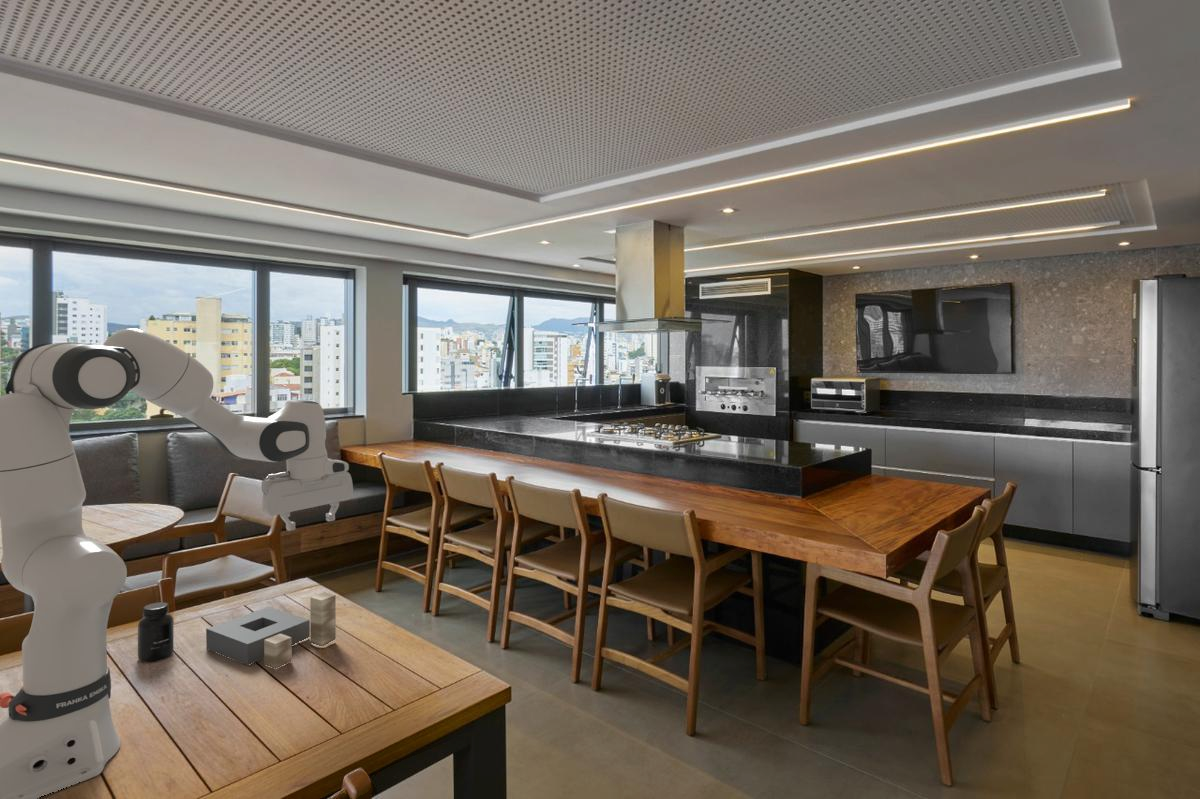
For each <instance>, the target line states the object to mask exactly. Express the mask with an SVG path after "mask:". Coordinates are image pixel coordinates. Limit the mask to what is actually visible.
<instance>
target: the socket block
mask: <svg viewBox="0 0 1200 799" xmlns="http://www.w3.org/2000/svg"><path fill="white" fill-rule="evenodd" d="M205 629H206V632H205V633H206V634H205V637H206V641H205V642H206V643H205V644H206V650H208V649H209V650H208V651H210V650H212V651H211V652H213V651H215V652H217V653H216V654H218V653H219V654H218V655H220V654H221V655H220V656H222V655H224V656H223V657H225V656H226V658H227V657H229V658H228V659H230V658H231V659H230V660H232V659H234V660H233V661H235V660H236V661H235V662H237V661H238V663H240V662H242V663H244V664H243V665H245V664H247V665H248V666H250V665H249V664H251V663H253V662H255V663H257V662H256V661H258V660H260V661H262V660H264V659H263V658H264V640H265V639H268V638H270V637H273V636H275V635H278V634H283V635H286V636H289V637H292V645H294V644H295V643H297V642H299V641H302V640H304V639H306V638H308V637H310V638H311V619H308V618H305V617H303V616H299V615H295V614H292V613H289V612H286V611H285V610H284V611H283V610H280V609H278V608H274V607H271V606H267V607H264V608H261V609H259V610H255V611H253V612H250V613H247V614H245V615H242V616H241V615H240V616H238V617H236V618H233V619H230V620H227V621H223V622H222V623H221V622H220V623H218V624H216V625H212V626H210V627H207V628H205ZM215 652H214V653H215ZM261 659H262V660H261ZM258 662H259V661H258ZM242 663H241V664H242ZM253 664H254V663H253ZM247 665H246V666H247ZM251 665H252V664H251Z"/></svg>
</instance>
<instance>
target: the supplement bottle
mask: <svg viewBox="0 0 1200 799" xmlns="http://www.w3.org/2000/svg"><path fill="white" fill-rule="evenodd" d="M174 623H175V622H174V617H173V615H172V614H170V613H169V603H168V602H165V601H164V602H163V601H161V602H160V601H159V602H153V603H148V604H146V605H145V606H143V609H142V618H141V619H139V621H138V622H137V659H138V661H140V662H141V663H154V662H159V661H162V660H166V659H168V658H169V657H171V656H172V655H173V653H174V639H175V638H174V636H175V635H174V633H175V632H174V629H175V628H174Z"/></svg>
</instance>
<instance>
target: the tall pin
mask: <svg viewBox="0 0 1200 799" xmlns="http://www.w3.org/2000/svg"><path fill="white" fill-rule="evenodd" d="M336 598H337V597H336V594H332V593H328V592H326V591H324V592H320V593H319V594H315V595H313V596H310V598H309V599H310V605H309V606H310V644H311V643H313V644H316V645H319V646H324V645H326V644H328V643H329V642H331V641H333V640H335V639H337V637H336V635H337V634H336V632H337V630H336V628H337V627H336V625H337V624H336V620H337V619H336V611H337V610H336V604H337V603H336V601H337V600H336Z"/></svg>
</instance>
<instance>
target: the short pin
mask: <svg viewBox="0 0 1200 799" xmlns="http://www.w3.org/2000/svg"><path fill="white" fill-rule="evenodd" d="M292 648H293V647H292V637H289V636H286V635H283V634H278V635H275V636H273V637H270V638H268V639H265V640H264V659H263V661H264V665H267V666H270V667H272V668H275V669H276V668H278V667H280V666H282V665H284V664H287V663H289V662H291V661H292V662H293V659H292V658H293V657H292V656H293V655H292V654H293V653H292V651H293V649H292ZM267 666H266V667H267ZM272 668H271V669H272Z"/></svg>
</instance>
